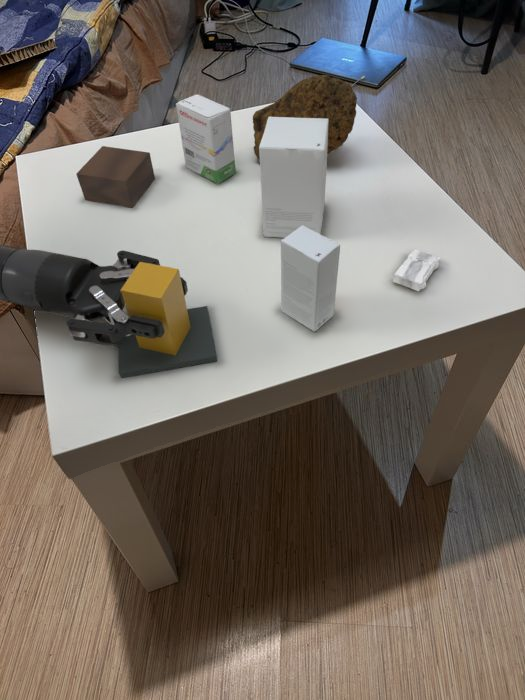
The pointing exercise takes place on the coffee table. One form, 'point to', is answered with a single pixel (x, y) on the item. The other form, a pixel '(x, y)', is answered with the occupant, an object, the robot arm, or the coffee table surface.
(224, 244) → the coffee table surface
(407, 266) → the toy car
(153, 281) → the mustard block
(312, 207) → the rectangular carton
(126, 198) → the walnut block
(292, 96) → the rock
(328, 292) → the cosmetic box
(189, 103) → the ink box
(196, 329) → the rubber mat
